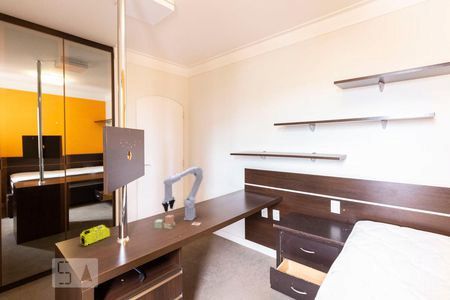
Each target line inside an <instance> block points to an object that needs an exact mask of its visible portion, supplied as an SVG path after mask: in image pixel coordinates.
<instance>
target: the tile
mask: <svg viewBox="0 0 450 300" xmlns="http://www.w3.org/2000/svg"><path fill="white" fill-rule="evenodd" d="M200 225H201V222H197V221H194V222H193V223H191V226H197V227H198V226H200Z"/></svg>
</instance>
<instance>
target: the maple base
mask: <svg viewBox="0 0 450 300" xmlns="http://www.w3.org/2000/svg"><path fill="white" fill-rule="evenodd" d="M174 227H176V221H174V222H173V223H172V224H165V222H164V226H163V228H164V229H168V230H171V229H173V228H174Z"/></svg>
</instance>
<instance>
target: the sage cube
mask: <svg viewBox="0 0 450 300" xmlns="http://www.w3.org/2000/svg"><path fill="white" fill-rule="evenodd" d="M164 223H165V218H164V219H162V218H161V219H160V218H159V219H158V218H157V219H156V220H155V221H154V229H162V228H164Z"/></svg>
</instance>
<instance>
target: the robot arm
mask: <svg viewBox="0 0 450 300" xmlns="http://www.w3.org/2000/svg"><path fill="white" fill-rule="evenodd" d="M190 174H193V175H194V177H195V180H194V181H193V182H194V183H193V184H192V187H191V190H190V192H189V194H188V196H187V197H186V198H185V199H184V201H183V204H184V217H183V221H193V220H194V219H195V218H197V215H196V208H195V202H196V195H197V193H198V191H199V188H200V187H201V183H202V181H203V179H204V178H203V177H204V176H203V169H202V167H200V166H196V165H193V166H190V167H189V168H188V169H186V170H184V171H181V172H180V173H174V174H173V175H171V176H169V177H166V178H165V179H164V180H163V184H164V198H163V200H162V203H161V205H162V207H163V209H164V212H165V213H168V212H169V209H170V210H173V209H174V206H175V205H174V204H175V203H176V199H175V196H173V184H175V183H177V182H179V181H180V180H181V179H182V178H183V177H185V176H188V175H190Z"/></svg>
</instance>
